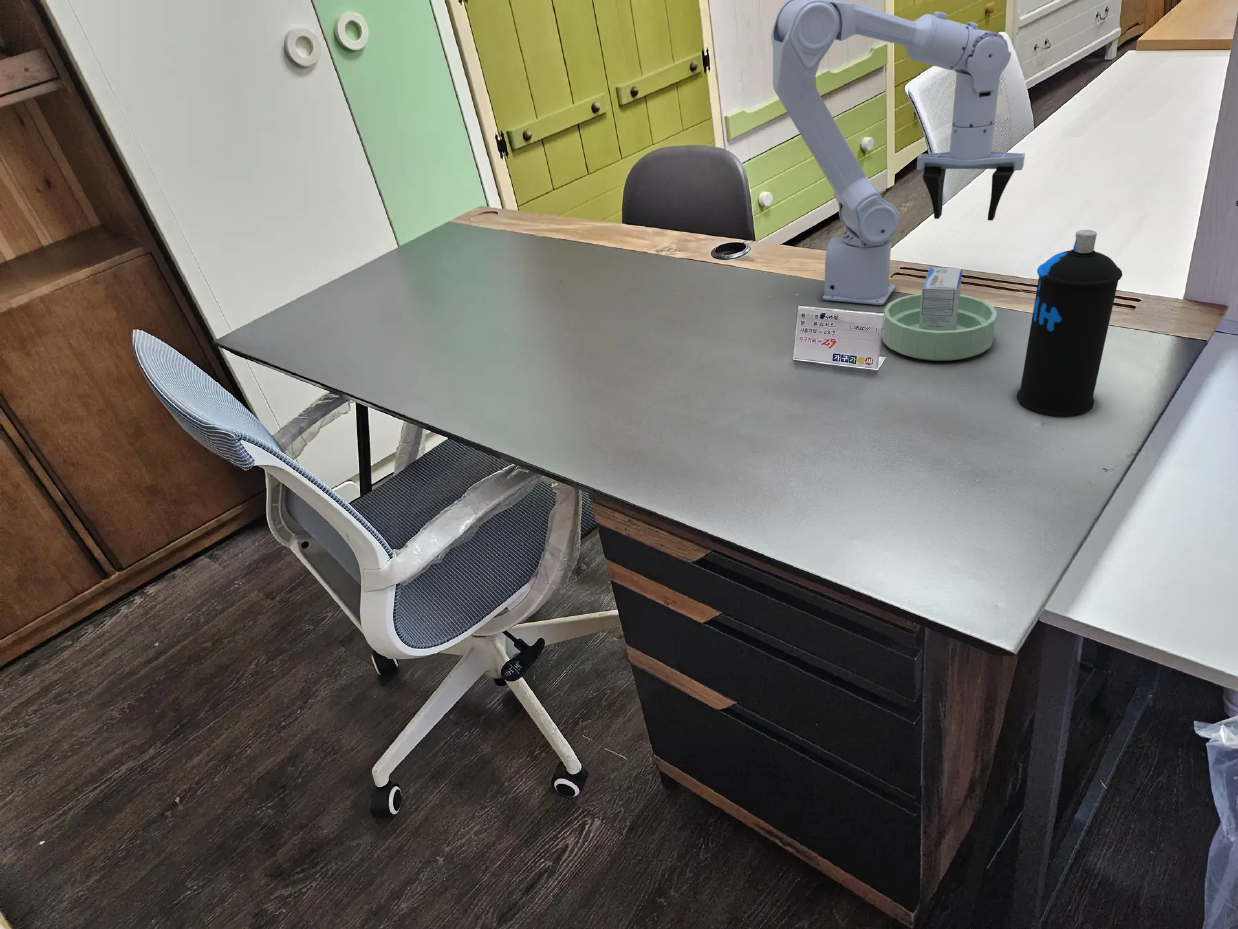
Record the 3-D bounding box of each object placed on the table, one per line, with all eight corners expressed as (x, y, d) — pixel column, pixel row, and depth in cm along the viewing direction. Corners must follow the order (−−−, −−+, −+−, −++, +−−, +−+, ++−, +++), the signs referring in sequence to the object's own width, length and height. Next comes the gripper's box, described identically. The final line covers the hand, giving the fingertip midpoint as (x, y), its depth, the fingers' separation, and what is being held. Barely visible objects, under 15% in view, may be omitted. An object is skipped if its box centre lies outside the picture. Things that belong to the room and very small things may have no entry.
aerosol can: (1089, 386, 101) (1125, 220, 91) (1098, 419, 95) (1137, 244, 84) (1014, 382, 104) (1040, 221, 94) (1018, 414, 98) (1046, 244, 87)
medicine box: (951, 350, 112) (958, 288, 108) (916, 348, 114) (921, 286, 109) (956, 327, 118) (963, 267, 114) (922, 325, 120) (928, 266, 115)
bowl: (870, 356, 114) (872, 325, 112) (896, 317, 125) (898, 288, 122) (982, 370, 108) (986, 337, 105) (999, 327, 118) (1004, 297, 116)
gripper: (1032, 116, 121) (1019, 211, 128) (927, 118, 128) (920, 208, 135) (1025, 126, 116) (1012, 225, 123) (916, 128, 122) (910, 221, 130)
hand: (964, 217), depth 128 cm, fingers open, 7 cm apart
